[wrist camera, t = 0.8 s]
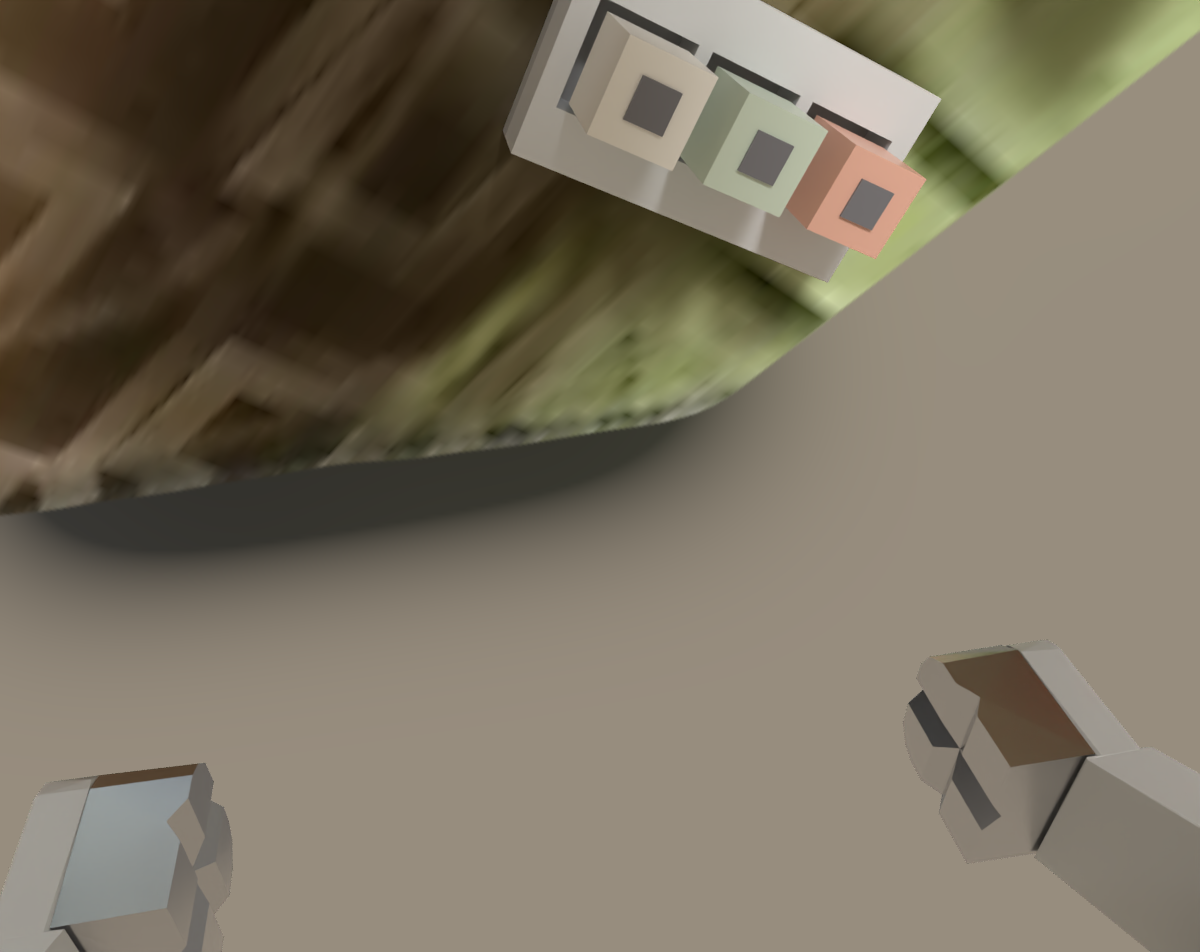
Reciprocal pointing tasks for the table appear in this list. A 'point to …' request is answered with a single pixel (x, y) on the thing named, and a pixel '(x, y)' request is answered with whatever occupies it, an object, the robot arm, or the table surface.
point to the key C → (854, 191)
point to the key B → (751, 143)
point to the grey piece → (716, 38)
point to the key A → (641, 92)
